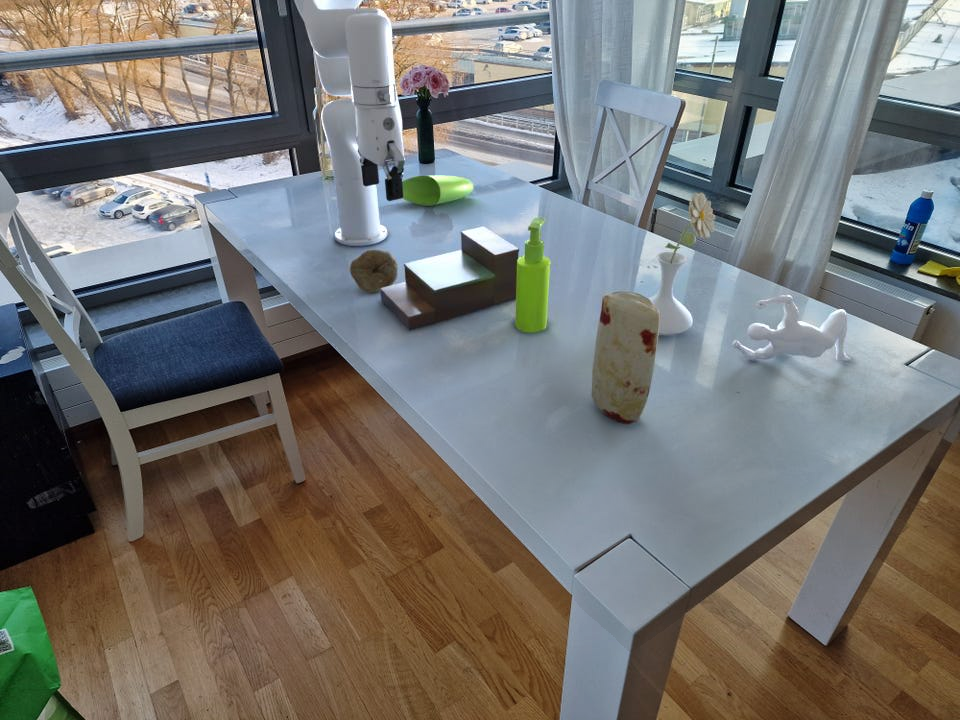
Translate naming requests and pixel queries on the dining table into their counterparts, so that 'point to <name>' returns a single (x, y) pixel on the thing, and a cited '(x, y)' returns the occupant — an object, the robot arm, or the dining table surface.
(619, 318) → the food model
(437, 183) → the green rounded oblong
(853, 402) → the dining table surface
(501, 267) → the step shelf
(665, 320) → the flower in vase
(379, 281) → the fossil
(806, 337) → the person figurine
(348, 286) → the dining table surface
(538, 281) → the soap dispenser
